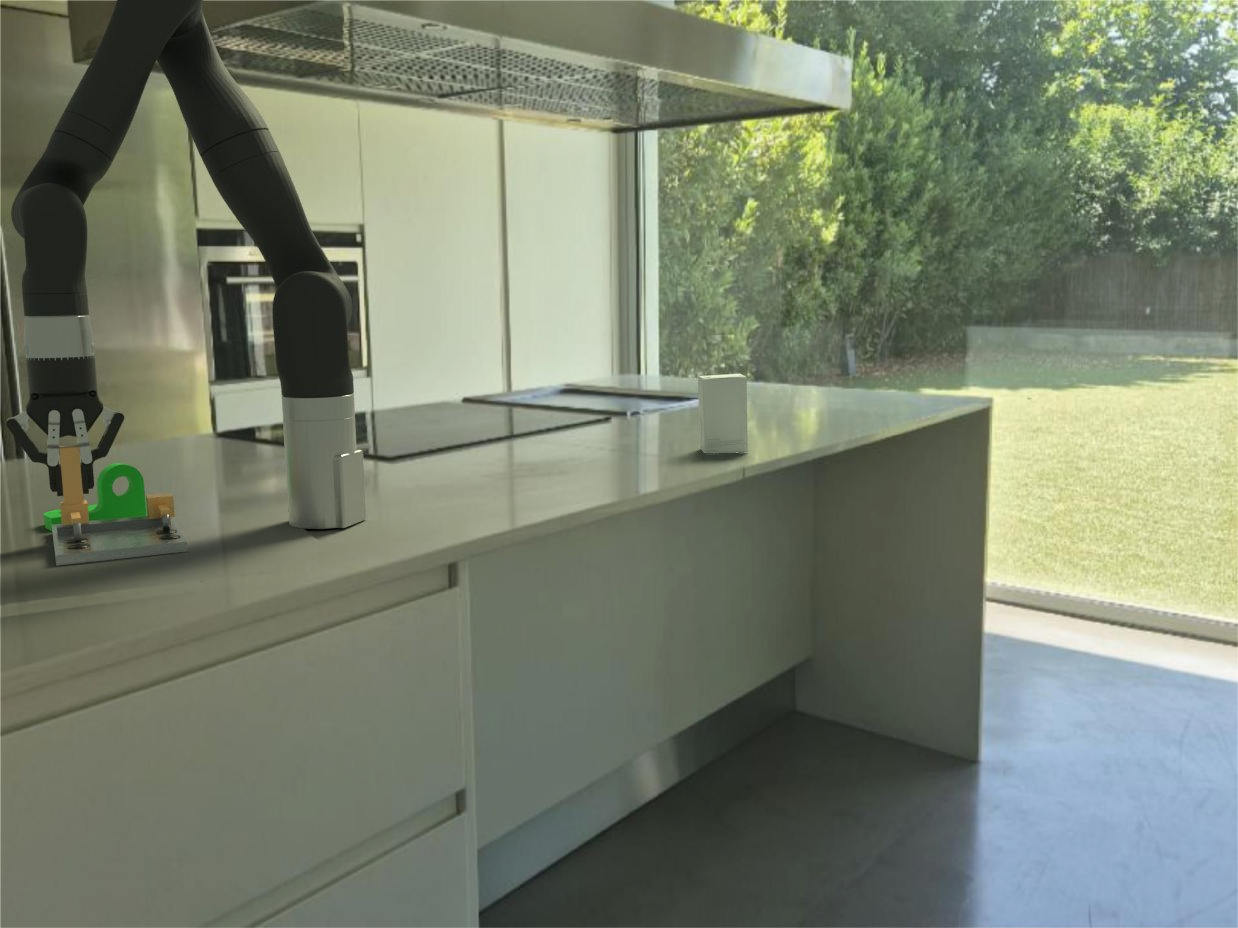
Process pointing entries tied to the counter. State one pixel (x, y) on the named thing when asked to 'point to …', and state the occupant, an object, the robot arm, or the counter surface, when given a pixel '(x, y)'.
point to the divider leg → (72, 490)
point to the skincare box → (723, 413)
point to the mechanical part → (112, 497)
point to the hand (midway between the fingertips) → (72, 493)
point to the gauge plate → (122, 535)
